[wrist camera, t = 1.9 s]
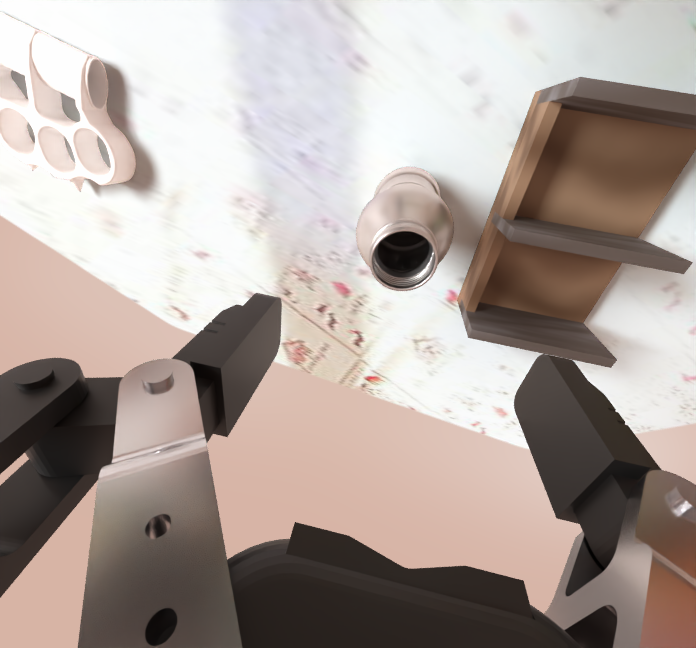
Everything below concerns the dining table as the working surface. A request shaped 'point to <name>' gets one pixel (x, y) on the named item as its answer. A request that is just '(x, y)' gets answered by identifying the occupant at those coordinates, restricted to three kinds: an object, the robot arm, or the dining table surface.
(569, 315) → the wooden shelf rack
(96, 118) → the white flat holed piece
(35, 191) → the dining table surface
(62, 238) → the dining table surface
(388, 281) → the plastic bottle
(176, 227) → the dining table surface
